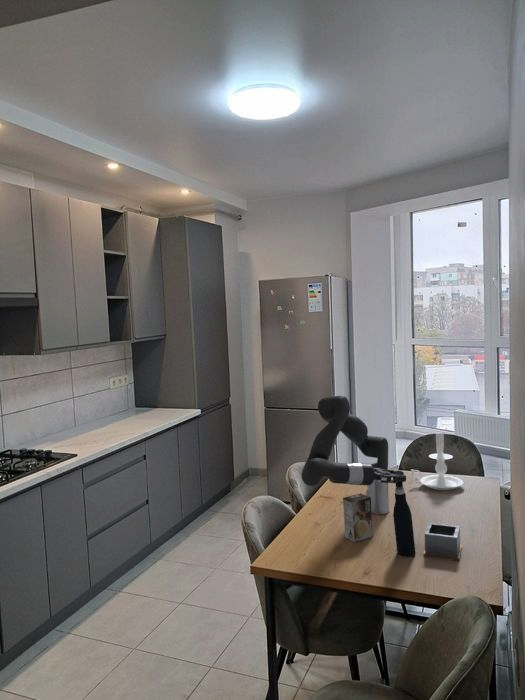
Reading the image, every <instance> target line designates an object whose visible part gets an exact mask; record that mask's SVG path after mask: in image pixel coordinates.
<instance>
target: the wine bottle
mask: <svg viewBox="0 0 525 700" xmlns="http://www.w3.org/2000/svg"><path fill="white" fill-rule="evenodd" d="M404 473H405V472H404V471H402V470H394V472H393V473H392V474H396V475H405V474H404ZM403 483H404V482H397V483H394V484H395V489H394V491H395V492H394V498H395V499H394V500H395V502H394V505H393V514H392V515H393V517H392V518H393V525H394V535H395V545H396V553H397V555H398V556H399V557H402V558H411V557H414V556H415V555H416V553H417V552H416V544H415V543H416V542H415V534H414V525H413V515H412V511H411V508H410V506H409V504H408V501H407V495H406V492H405V487H404V484H403Z"/></svg>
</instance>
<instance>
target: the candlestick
mask: <svg viewBox="0 0 525 700" xmlns="http://www.w3.org/2000/svg"><path fill="white" fill-rule="evenodd" d="M444 434H445V432H435V443H436V444H435V447H436V452H437V453H436V452H435V453H431V454H429V455H428V457H429V459H434V460H436V464H435V465H434V466H435V467H434V470H435V472H436V474H432V475H426V476H423V477H422V472H421V471H420V470H418V469H410V471H411V476H412V478H413V479H414V480H415V482H416V483H417V484H422V485H425V486H426V487H427V488H430V489H432V490H437V491H438V490H439V491H451V490H454V489H457V488H459V487H462V486H463V485H464V483H465V482H464V480H462V479H461V478H459V477H456V476H452V475H446V473H447V471H448V466H447V464H446V463H445V462H446V460H450V459H451V460H452V459H453V458H454V456H453V455H451V454H448V453H444V447H445V440H444V439H445V435H444ZM416 472H417V473H418V474H419V476H418V477H415V476H414V474H415V473H416ZM418 480H419V481H418Z"/></svg>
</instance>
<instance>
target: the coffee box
mask: <svg viewBox="0 0 525 700" xmlns="http://www.w3.org/2000/svg"><path fill="white" fill-rule="evenodd" d="M342 503H343V506H342V507H343V520H344V521H343V522H344V537H345V538H346V539H348V540H349V541H351V542H353V543H358V542H360V541H363V540H366V539H369V538H373V536H374V535H373V533H374V532H373V517H372V515H373V513H371V497H369V496H366V494H364V493H357V494H353V495H349V496H344V497H342Z"/></svg>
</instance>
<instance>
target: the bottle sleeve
mask: <svg viewBox="0 0 525 700" xmlns="http://www.w3.org/2000/svg"><path fill="white" fill-rule="evenodd" d="M462 549H463V544H461V526H460V525H451V524H443V523H435V522H434V523H433V522H428V524H427V526H426V529H425V532H424V551H423V553H422V555H423V557H426V558H427V557H428V558H433V559H442V560H450V561H455V562H460V558H461V555H462Z"/></svg>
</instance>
